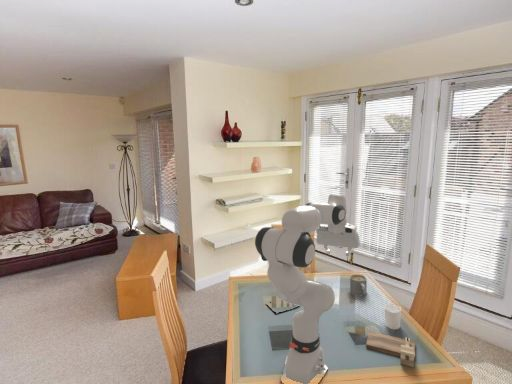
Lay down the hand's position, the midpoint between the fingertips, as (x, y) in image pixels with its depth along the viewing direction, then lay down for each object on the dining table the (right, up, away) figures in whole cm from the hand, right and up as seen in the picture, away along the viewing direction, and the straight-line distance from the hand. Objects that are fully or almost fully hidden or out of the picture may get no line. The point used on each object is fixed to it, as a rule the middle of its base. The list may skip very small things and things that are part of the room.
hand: (337, 254), depth 142 cm
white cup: (+31, -39, +8) cm, 51 cm away
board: (+23, -42, -7) cm, 48 cm away
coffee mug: (+26, -35, +43) cm, 61 cm away
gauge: (+27, -42, -14) cm, 52 cm away
